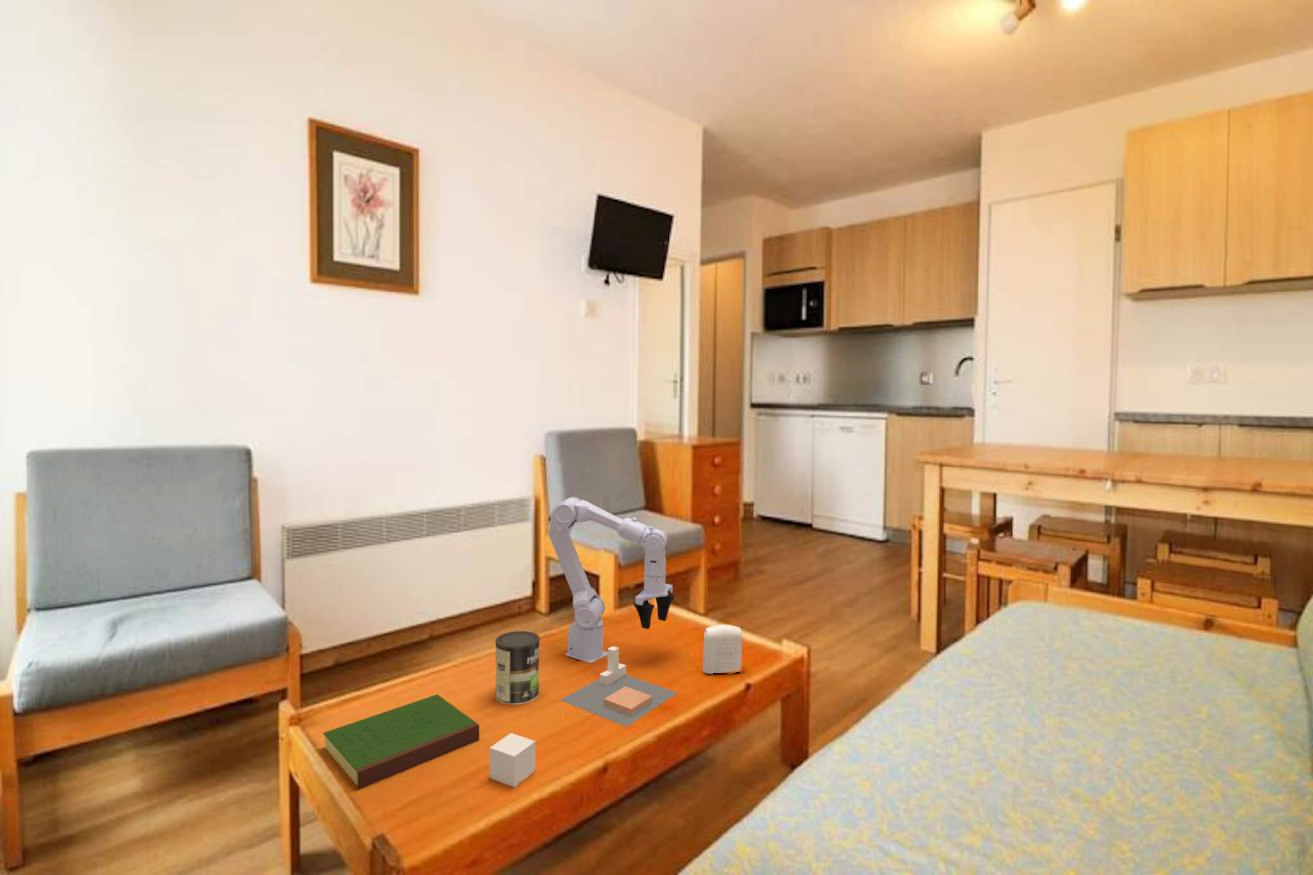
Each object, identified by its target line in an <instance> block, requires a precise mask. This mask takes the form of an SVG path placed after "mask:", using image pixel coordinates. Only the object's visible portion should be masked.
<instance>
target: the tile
mask: <svg viewBox="0 0 1313 875" xmlns="http://www.w3.org/2000/svg"><path fill="white" fill-rule="evenodd" d="M651 703H652V696H651V695H648V694H645V693H643V692H640V691H637V690H634V689H631V688H629V687H626V686H625V687H623V688H622V689H620V690H618V691H617V692H615V693H613V694H611V695H610V696H608V697H606V698H604V706H605V707H607V708H610V709H613V710H615V711H618V712H620V713H623V714H625V715H628V716H633V715H634V714H636V713H637V712H639V711H641V710H642V709H644V708H645V707H647V706H648V705H650V704H651Z"/></svg>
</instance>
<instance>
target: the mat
mask: <svg viewBox="0 0 1313 875" xmlns="http://www.w3.org/2000/svg"><path fill="white" fill-rule="evenodd" d="M625 686H626V687H629V688H631V689H634V690H637V691H640V692H643V693H645V694H648V695H651V696H652V703H651V704H650V705H648V706H647V707H645V708H644V709H642V710H641V711H639V712H637V713H636V714H634V715H633V716H628V715H625V714H623V713H620V712H618V711H615V710H613V709H610V708H607V707H605V706H604V698H606V697H608V696H610V695H611V694H613V693H615V692H617V691H618V690H620V689H622V688H623V687H625ZM677 694H678V691H674V690H671V689H668V688H665V687H663V686H661V685H660V686H659V685H656V684H653V683H651V682H647V681H646V680H643V679H639V678H638V677H637V678H635V677H634V676H631V675H627V674H626V675H625V676H623V677H621V678H619V679H618V680H616V681H614V682H612V683H611V684H609V685H607V686H604V685H601V684H600V678H598V679H596V680H594V681H593V682H590V683H588V684H586V685H585V686H582V687H580V688H579V689H577V690H575V691H573V692H572V693H570V694H568V695H566V696H564V697H562V698H561V699H559V701H561V702H564V703H566V704H569V705H571V706H574V707H576V708H579V709H581V710H583V711H586V712H589V713H592V714H593V715H596V716H598V717H601V718H603V719H606V720H607V721H608V720H609V721H611V722H613V723H616V724H618V725H621V726H623V727H626V728H627V727H628V726H630V725H632V724H633V723H635V722H636V721H638V720H639V719H641V718H643V717H644V716H645V715H646V714H648V713H650V712H651V711H653V710H655V709H656V708H657V707H659V706H661V705H662V704H664V703H665V702H666V701H668V700H669V699H670V698H672V697H674V696H675V695H677Z"/></svg>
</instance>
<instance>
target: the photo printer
mask: <svg viewBox="0 0 1313 875" xmlns="http://www.w3.org/2000/svg"><path fill="white" fill-rule="evenodd" d="M742 650H743V632H742V629H741V627H738V626H735V625H731V624H718V625H717V624H716V625H714V626H709V627H707V628H705V630H704V634H703V653H702V654H703V655H702V672H703V673H704V672H705V673H704V674H706V673H707V674H706V675H714V674H713V673H721V672H731V671H739V670H741V671H742V654H743V651H742Z"/></svg>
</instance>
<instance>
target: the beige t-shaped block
mask: <svg viewBox="0 0 1313 875" xmlns="http://www.w3.org/2000/svg"><path fill="white" fill-rule="evenodd" d="M607 652H608V655H607V670H605V671H602V672H600V673H599V679H600V684H601V685H604V686H607V685H609V684H611V683H612V682H614V681H616V680H618V679H619V678H621V677H623V676H625V675H627V665H626V664H624V663H620V647H617V646H611V647H608V648H607Z"/></svg>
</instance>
